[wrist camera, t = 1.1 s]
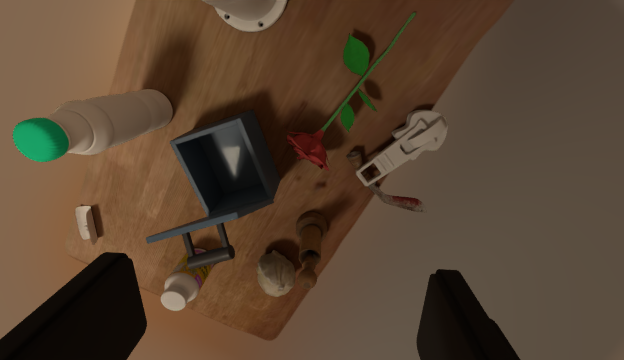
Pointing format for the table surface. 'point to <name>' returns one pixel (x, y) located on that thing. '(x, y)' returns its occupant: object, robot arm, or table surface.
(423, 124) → the zipper pull
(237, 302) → the table surface
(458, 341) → the robot arm
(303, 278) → the mortar and pestle
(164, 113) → the water bottle
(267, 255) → the cream hollow lumpy ball
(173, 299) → the supplement bottle
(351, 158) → the machete
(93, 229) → the white curved plate
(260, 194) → the chest
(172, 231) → the lid
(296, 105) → the table surface
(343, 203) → the table surface
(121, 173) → the table surface
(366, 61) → the flower
